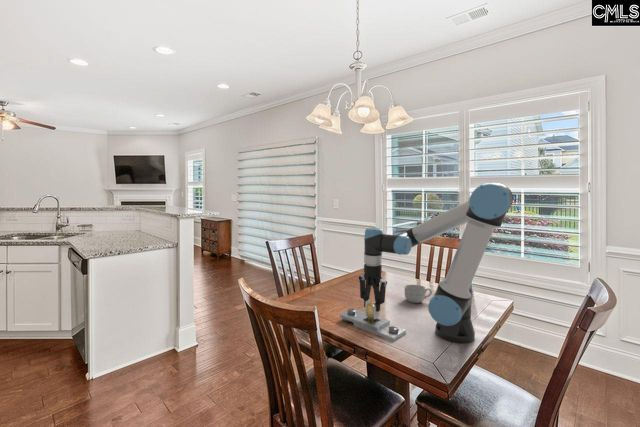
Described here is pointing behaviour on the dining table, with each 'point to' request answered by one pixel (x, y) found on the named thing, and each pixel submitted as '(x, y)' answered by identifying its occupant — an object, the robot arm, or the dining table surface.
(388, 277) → the dining table surface
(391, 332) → the grey peg base plate
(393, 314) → the dining table surface
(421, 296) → the teacup
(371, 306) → the brass pin
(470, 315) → the robot arm
